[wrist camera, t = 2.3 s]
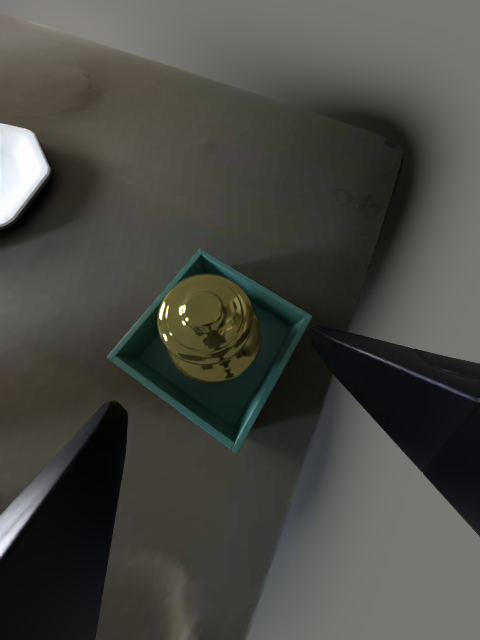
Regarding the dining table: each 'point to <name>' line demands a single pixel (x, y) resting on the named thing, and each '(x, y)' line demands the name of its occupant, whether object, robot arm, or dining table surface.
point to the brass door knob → (209, 328)
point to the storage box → (226, 398)
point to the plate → (20, 172)
